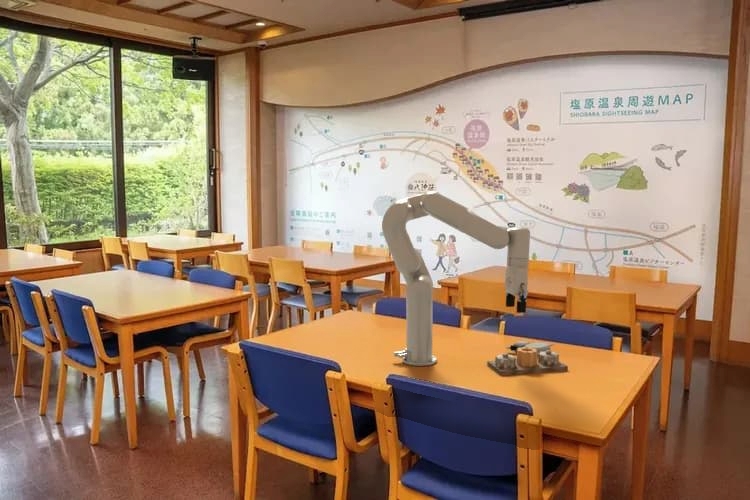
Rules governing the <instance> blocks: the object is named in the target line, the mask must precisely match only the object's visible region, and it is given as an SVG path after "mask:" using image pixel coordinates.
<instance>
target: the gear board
mask: <svg viewBox="0 0 750 500" xmlns="http://www.w3.org/2000/svg"><path fill="white" fill-rule="evenodd" d="M494 358H495V359H494V360H488V361H486V365H487V366H488V368H490V369H492V370H493V371H494V372H495V373H497V374H498V375H500V376H512V375H525V374H537V373H550V372H563V371H565V370H566V371H569V370H568V369H569V367H568V365H567V364H565V363H564V362H562V361H560V354H559V353H557V352H555V351H552V350H551V349H550V350H546V351H545V352H543V351H541V352H540V353H538V356H537V365H536V366H535V365H534V366H532V367H529V366H522V365H518V364H517V356H514V355H512V354H509V353H505V352H504V353H502V354H499V353H498V354H496V355H495V357H494ZM566 371H565V372H566Z"/></svg>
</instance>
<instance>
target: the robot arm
mask: <svg viewBox="0 0 750 500" xmlns="http://www.w3.org/2000/svg"><path fill="white" fill-rule="evenodd" d="M428 216H430V217H431V218H433V219H436V220H438V221H440V222H442V223H444V224H445V225H447V226H449V227H450V228H453V229H455V230H456V231H458V232H460V233H463V234H465V235H467V236H469V237H471V238H473V239H474V240H476V241H478V242H480V243H482V244H484V245H486V246H488V247H490V248H492V249H494V250H502V249H504V248H506V247H507V255H506V256H507V257H506V268H505V269H506V270H505V277H504V279H505V280H504V292H506V293H505V307H506V308H508V307H509V308H513V307H515V306H516V313H518V314H523V313H524V314H525V313H526V312H527V302H528V301H527V300H528V294H529V290H528V285H529V284H528V283H529V281H528V280H529V279H528V277H529V276H528V268H529V263H530V245H531V244H530V242H531V231H530V229H529V228H527V227H517V226H516V227H514V226H513V227H507V226H501V225H500V226H499V225H496V224H494V223H492V222H491V221H488V220H486V219H484V218H483V217H481V216H479V215H478V214H477V213H475V212H474V211H473V210H471V209H470V208H469V207H466V206H464V205H462V204H461V203H458V202H456V201H454V200H452V199H451V198H449V197H446V196H445V195H443V194H441V193H440V192H438V191H435V190H430V191H427V192H424V193H421V194H417V195H413V196H410V197H406V198H402V199H398V200H396V201H394V202H393V203H391V205H390V206H389V207H388V208H387V210H386V211H385V213H384V215H383V217H382V221H381V230H382V234H383V238H384V240H385V242H386V245H387V247H388V251H389V253H390V255H391V257H392V259H393V261H394V265H395V267H396V269H397V271H398V272H399V273H400V274H401V275H402V277H403V279H404V281H405V283H406V287H405V302H406V303H405V304H406V305H405V306H406V307H405V308H406V309H405V310H406V312H405V313H406V319H405V320H406V347H404V349H403V350H401V351H393V356H394V358H398V359H402V360H401V361H402V362H403V363H404V364H406V365H409V366H413V367H414V366H415V367H423V366H425V367H426V366H432V365H434V364H436V363H437V361H438V360H437V359H438V358H437V357H436V356H434V355H433V322H434V321H433V295H434V293H433V292H434V283H433V279H432V277H431V274H430V272H429V269H428V268H427V266H426V263H425V260H424V258H423V255H422V254H421V252H420V250H417V248H415V246H414V245H413V243H412V240H411V238H410V235H409V233H408V230H407V226H406V225H407V223H408V222H410V221H414V220H416V219H420V218H423V217H428ZM516 297H517V301H516ZM515 301H516V302H515ZM515 303H516V305H515Z"/></svg>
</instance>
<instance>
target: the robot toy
mask: <svg viewBox="0 0 750 500" xmlns="http://www.w3.org/2000/svg"><path fill="white" fill-rule="evenodd" d="M553 346H555V344H549V343H547V342H539V341H537V342H532V343H530V341H527V340H526V341H525V340H520V341H516V342H513V345H510V346H508V345H507V346H506V350H510V351H514V352H517V348H521V347H527V348H528V347H530V348H534V349H537V357H538V353H540V352H541V351H543V352H545V351H546V350H550V351H551V347H553Z"/></svg>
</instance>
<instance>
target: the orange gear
mask: <svg viewBox="0 0 750 500" xmlns="http://www.w3.org/2000/svg"><path fill="white" fill-rule="evenodd" d="M537 357H538V356H537V349H534V348H530V347H528V348H527V347H521V348H517V351H516V359H517V364H518V365H522V366H529V367H532V366H534V365H535V366H536V365H537Z"/></svg>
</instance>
